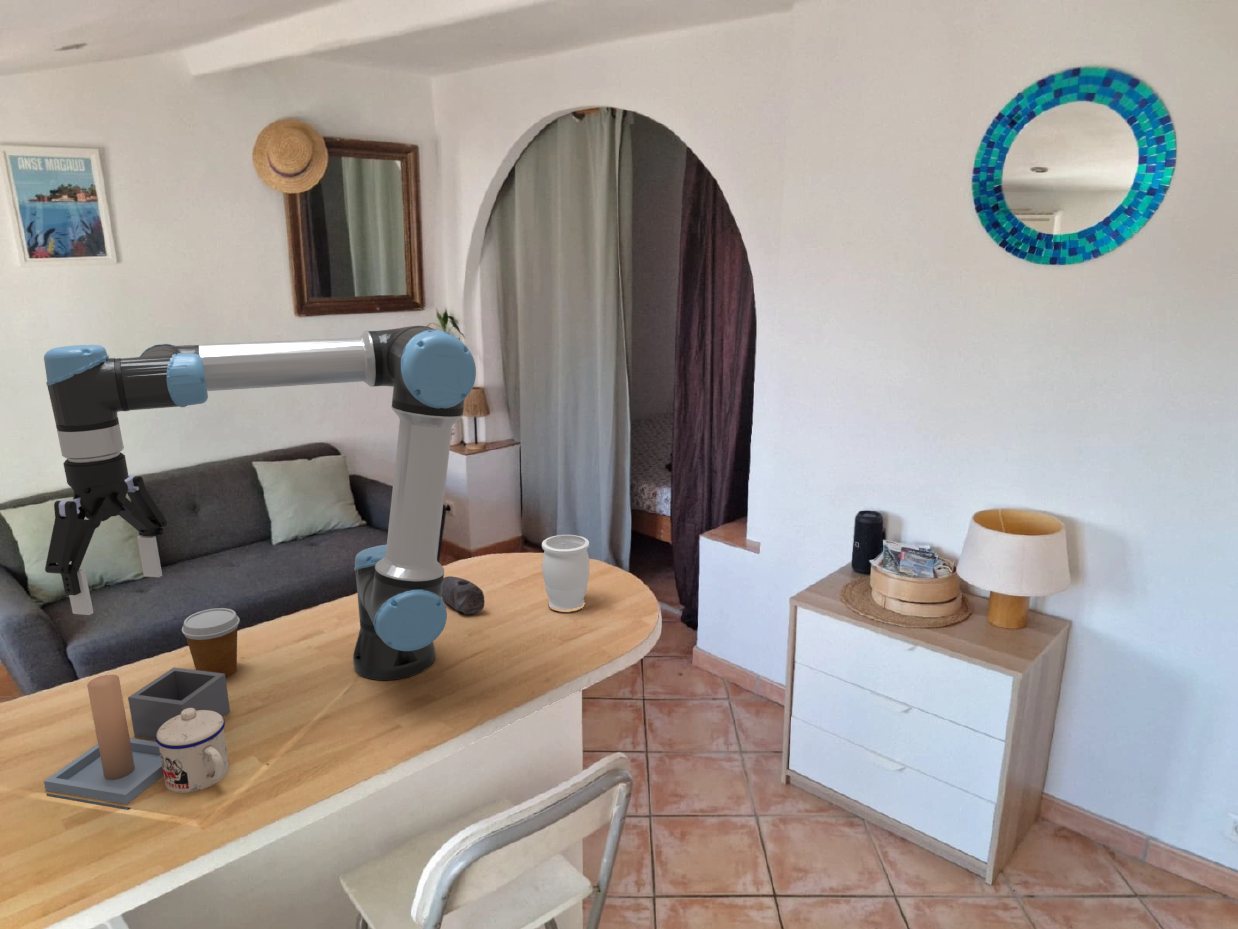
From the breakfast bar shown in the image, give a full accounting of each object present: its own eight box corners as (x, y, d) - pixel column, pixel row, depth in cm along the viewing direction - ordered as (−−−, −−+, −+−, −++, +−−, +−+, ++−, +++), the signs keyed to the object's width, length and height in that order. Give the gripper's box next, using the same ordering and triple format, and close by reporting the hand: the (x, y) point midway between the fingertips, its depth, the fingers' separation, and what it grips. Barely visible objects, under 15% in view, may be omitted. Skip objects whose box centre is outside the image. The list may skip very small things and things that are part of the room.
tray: (188, 760, 129) (186, 746, 128) (128, 810, 118) (125, 795, 117) (112, 749, 132) (110, 735, 131) (46, 796, 121) (43, 781, 120)
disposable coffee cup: (224, 693, 149) (216, 631, 146) (177, 687, 150) (168, 627, 147) (257, 667, 158) (249, 609, 155) (212, 662, 159) (204, 605, 156)
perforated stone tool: (432, 600, 188) (430, 571, 186) (452, 593, 191) (451, 565, 190) (466, 622, 177) (464, 591, 175) (487, 615, 180) (486, 585, 179)
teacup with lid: (152, 784, 123) (140, 714, 121) (211, 755, 131) (202, 688, 128) (194, 815, 117) (183, 742, 114) (254, 782, 124) (245, 713, 121)
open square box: (230, 716, 141) (225, 673, 139) (188, 750, 132) (182, 704, 130) (180, 709, 143) (173, 667, 141) (135, 741, 134) (127, 697, 132)
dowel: (140, 765, 126) (125, 676, 122) (120, 781, 122) (103, 690, 119) (118, 762, 127) (102, 673, 123) (97, 777, 123) (80, 686, 120)
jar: (588, 616, 180) (588, 550, 176) (540, 615, 180) (539, 550, 176) (591, 596, 190) (590, 534, 186) (545, 595, 190) (544, 533, 186)
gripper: (136, 435, 131) (158, 561, 136) (-8, 478, 107) (25, 629, 113) (178, 436, 129) (198, 563, 135) (41, 481, 106) (73, 633, 111)
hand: (120, 594), depth 124 cm, fingers open, 13 cm apart
